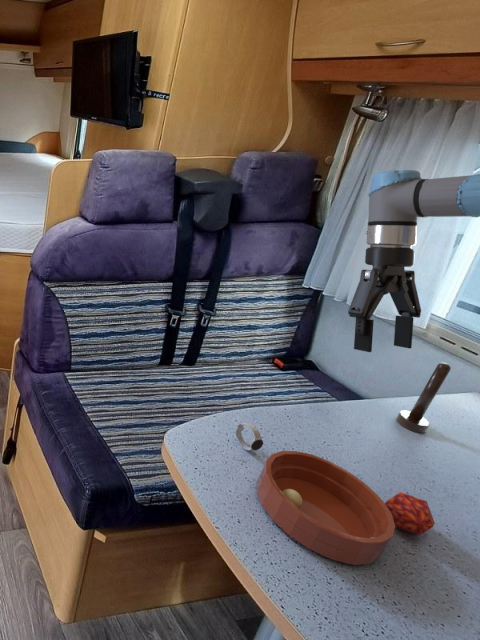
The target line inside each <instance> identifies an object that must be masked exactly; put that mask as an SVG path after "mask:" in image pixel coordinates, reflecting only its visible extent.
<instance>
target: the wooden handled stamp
mask: <svg viewBox="0 0 480 640" xmlns="http://www.w3.org/2000/svg"><path fill="white" fill-rule="evenodd" d="M450 372H451V366H450V364H448V363H446V362H439V363H438V364H437V365H436V367H435V369H434V370H433V372H432V374H431V375H430V377H429V379H428V380H427V383H426V385H425V386H424V388H423V390H422V391H421V393H420V394H419V396H418V397H417V399H416V401H415V403H414V405H413V407H412V409H411V410H405V409H402V410H400V411H399V412H398V414H397V416H396V418H395V420H396V422H397V423H398V424H399V425H400V426H401V427H403V428H405V429H407V430H408V431H411V432H414V433H418V434H425V433H426V432H427V430H428V428H429V426H430V422H429V420H427V419H426V418H425V417H424V415H425V414H426V412H427V410H428V409H429V408H430V406H431V404H432V402H433V400H434V398H435V397H436V395H437V393H438V392H439V390H440V388H441V386H442V385H443V383H444V382H445V380H446V378H447V377H448V375H449V373H450Z"/></svg>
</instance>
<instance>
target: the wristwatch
mask: <svg viewBox="0 0 480 640" xmlns="http://www.w3.org/2000/svg"><path fill="white" fill-rule="evenodd" d="M244 426H246V427H248V429H249V430H251V432H252V434H253V436H254V437H253V439H252V441H251V442H250V445H248V444H247V443H246V441H245V440H244V437H243V435H242V432H243V431H244V430H245V427H244ZM234 435H235V438H236V441H237V442H238V444H239V445H240V447H241V448H242V449H243V450H245V451H258V450H260V449H261V448H262V447H263V445H264V440H263V437H262V436H261V432H260V431H259V429H258V428H257V427H256V426H255V425H254V424H252V423H249V422H239V423H237V425H236V426H235V431H234Z"/></svg>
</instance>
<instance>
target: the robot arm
mask: <svg viewBox="0 0 480 640" xmlns="http://www.w3.org/2000/svg"><path fill="white" fill-rule="evenodd" d="M370 180H371V182H370V186H369V187H370V188H369V193H368V217H367V218H368V219H367V220H368V221H367V230H366V231H365V234H366V244H367V245H369V247H367V248H365V255H364V256H365V257H364V263H365V264H366V265H368V266H372V269H362V270H361V271H360V275H359V276H360V277H359V280H358V281H359V282H358V283H357V286H356V290H355V292H354V295H353V297H352V300H351V303H350V305H349V308H348V311H347V313H348V315H349V316H348V317H350V318H355V325H354V326H355V327H354V340H353V350H355V351H356V350H357V351H361V352H366V353H372V352H373V351H372V350H373V349H372V348H373V335H374V321H375V319H371V318H372V316H373V315H374V313H375V311H376V309H377V308H378V306H379V304H380V303H381V301H382V299H383V298H384V296H385V295H388V294H389V295H390V297H391V300H392V303H393V305H394V307H395V308H396V311H397V312H398V313H397V314H398V315H395V322H394V334H393V335H394V336H393V346H395V347H400V348H405V349H412V345H413V334H414V333H413V331H414V319H415V318H417V319H420V318H421V315H422V314H421V313H422V308H421V302H420V299H419V294H418V290H417V289H418V288H417V285H416V273H415V270H409V269H408V270H407V269H405V268H411V267H414V265H415V256H416V249H414V248H412V247H414V246H416V245H417V234H418V233H417V231H418V219H419V218H466V217H467V218H468V217H470V218H480V174H479V173H478V174H471V175H460V176H459V175H458V176H449V177H438V178H422V177H421V173H420V171H419V170H415V169H400V170H386V171H379V172H377V173H375V174H374V175H373V176H372V177H371V179H370Z"/></svg>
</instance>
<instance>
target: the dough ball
mask: <svg viewBox="0 0 480 640" xmlns="http://www.w3.org/2000/svg"><path fill="white" fill-rule="evenodd" d="M282 493H283V494H284V496H285V497H286V498H287V499H288V500H289V501H290V502H291V503H293V504H294V505H295V506H296V507H297V508H299V507H300V506H301V505H302V498H301V496H300V494H299V493H298V492H296V491H295V490H292V489H285V490H283V491H282Z"/></svg>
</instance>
